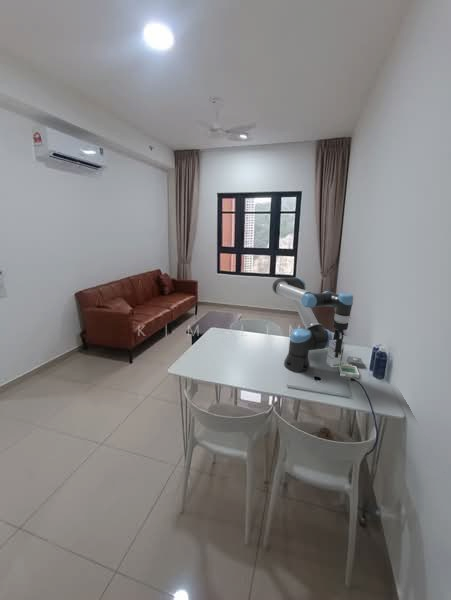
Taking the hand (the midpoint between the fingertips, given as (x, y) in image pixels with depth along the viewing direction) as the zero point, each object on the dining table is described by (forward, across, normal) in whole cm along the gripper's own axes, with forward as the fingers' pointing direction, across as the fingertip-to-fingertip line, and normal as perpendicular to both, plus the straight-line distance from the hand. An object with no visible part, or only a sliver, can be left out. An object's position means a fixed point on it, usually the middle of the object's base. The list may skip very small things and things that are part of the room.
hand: (334, 358), depth 154 cm
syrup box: (+4, 0, 0) cm, 4 cm away
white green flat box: (+11, +8, -10) cm, 17 cm away
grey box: (+11, +18, -16) cm, 27 cm away
